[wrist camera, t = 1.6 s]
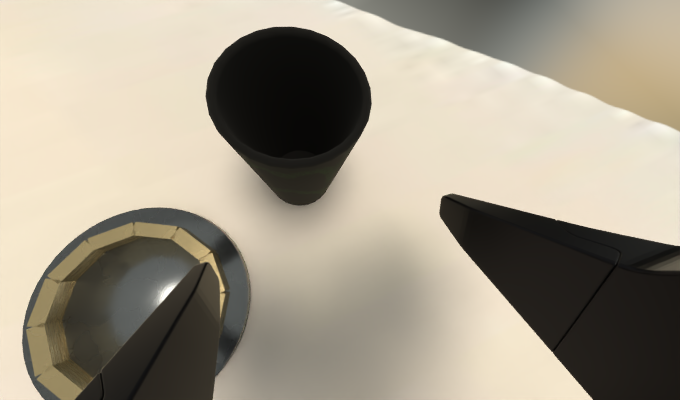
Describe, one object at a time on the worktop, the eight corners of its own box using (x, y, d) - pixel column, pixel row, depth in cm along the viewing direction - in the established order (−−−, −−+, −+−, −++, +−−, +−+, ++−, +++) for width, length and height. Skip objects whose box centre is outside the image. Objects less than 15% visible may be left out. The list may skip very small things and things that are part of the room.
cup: (251, 211, 22) (186, 154, 10) (265, 134, 23) (223, 12, 12) (337, 220, 22) (368, 176, 11) (343, 145, 24) (375, 40, 13)
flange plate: (228, 423, 18) (219, 443, 16) (-4, 415, 16) (-46, 436, 14) (264, 220, 21) (260, 216, 20) (80, 199, 20) (55, 192, 18)
